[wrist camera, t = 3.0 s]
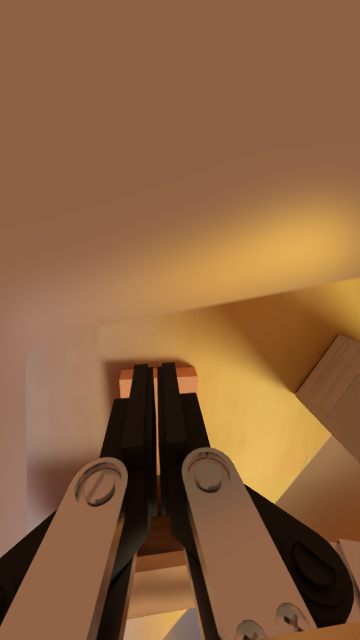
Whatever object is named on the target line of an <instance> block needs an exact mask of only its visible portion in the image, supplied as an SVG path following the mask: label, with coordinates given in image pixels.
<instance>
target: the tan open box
mask: <svg viewBox="0 0 360 640" xmlns="http://www.w3.org/2000/svg"><path fill="white" fill-rule="evenodd" d="M189 608H195V604H194V599H193V594H192V590H191V585H190V580H189V575H188V571H187V566H186V561H185V556H184V551H183V545H182V544H181V543H180V542H179V541H178V540H177V539H176V538H175V537H174V536H173V535H172V534H171V530H170V515H167V516H159V517H152V518H151V526H150V530H148V537H147V539H146V540H145V541H144V543H143V544H142V545H141V546H140V548H139V549H138V550H137V561H136V567H135V573H134V579H133V585H132V591H131V597H130V603H129V609H128V615H127V619H132V618H138V617H144V616H149V615H155V614H161V613H166V612H172V611H178V610H184V609H189Z"/></svg>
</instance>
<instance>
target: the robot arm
mask: <svg viewBox="0 0 360 640" xmlns="http://www.w3.org/2000/svg"><path fill="white" fill-rule="evenodd" d="M157 396H158V448H159V465H160V481H161V497H162V513H163V515H169V514H170V530H171V534H172V535H173V536H174V537H175V538H176V539H177V540H178V541H179V542H180V543H181V544H182V545H183V551H184V556H185V561H186V566H187V571H188V575H189V580H190V585H191V590H192V594H193V599H194V604H195V609H196V613H197V618H198V623H199V628H200V632H201V637H202V640H360V542H356V541H350V540H343V539H338V541H337V543H333V542H327V541H326V540H325V539H324V538H323V537H321V536H320V535H319V534H318V533H316V532H315V531H313V530H312V529H310V528H309V527H307V526H306V525H304V524H303V523H301V522H300V521H298V520H297V519H295V518H294V517H292V516H291V515H290V514H288V513H287V512H285V511H283V510H282V509H281V508H279V507H278V506H276V505H275V504H273V503H272V502H270V501H269V500H267V499H266V498H264V497H263V496H261V495H260V494H258V493H257V492H255V491H254V490H253V489H251V488H250V487H248V486H247V485H245V484H244V483H243V482H242V480H241V478H240V476H239V474H238V472H237V470H236V468H235V466H234V464H233V463H232V461H231V460H230V458H229V457H228V456H227V455H225V454H224V453H223V452H221V451H219V450H217V449H214V448H211V447H210V444H209V440H208V436H207V432H206V428H205V425H204V421H203V417H202V413H201V409H200V406H199V402H198V398H197V395H196V393H195V392H194V393H181V394H180V392H179V386H178V380H177V373H176V367H175V362H171V363H162V367H157ZM154 516H157V424H156V406H155V390H154V374H153V367H148V364H140V365H134V371H133V377H132V383H131V390H130V396H129V398H116V399H115V400H114V403H113V406H112V410H111V414H110V418H109V422H108V426H107V430H106V434H105V438H104V442H103V446H102V450H101V454H100V458H99V459H96V460H94V461H91V462H90V463H88V464H87V465H85V466H84V467H83V468H82V469H81V470H80V471H79V472H78V473H77V474H76V475H75V477H74V478H73V480H72V482H71V484H70V486H69V488H68V490H67V492H66V494H65V496H64V498H63V500H62V502H61V504H60V506H59V508H58V509H57V510H56V511H55V512H53V513H52V514H51V515H50V516H49V517H48V518H46V519H45V520H44V521H43V522H42V523H41V524H39V525H38V526H37V527H36V528H35V529H34V530H32V531H31V532H30V533H29V534H28V535H27V536H26V537H24V538H23V539H22V540H21V541H20V542H18V543H17V544H16V545H15V546H14V547H13V548H12V549H10V550H9V551H8V552H7V553H6V554H5V555H3V556H2V557H1V558H0V640H123V638H124V632H125V626H126V621H127V615H128V609H129V603H130V597H131V591H132V585H133V579H134V573H135V567H136V561H137V550H138V549H139V548H140V546H141V545H142V544H143V543H144V541H145V540H146V539H147V537H148V530H150V526H151V517H154Z"/></svg>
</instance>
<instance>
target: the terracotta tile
mask: <svg viewBox="0 0 360 640" xmlns="http://www.w3.org/2000/svg"><path fill="white" fill-rule="evenodd" d="M133 371H134V369H125V370H122V371H121V375H120V379H119V384H120V396H121V398H129V396H130V390H131V383H132V377H133ZM176 373H177V380H178V386H179V392H180V394H181V393H194V392H195V393H196V395H197V373H196V370H195V367H176ZM153 374H154V390H155V406H156V424H157V476H158V475H160V465H159V448H158V396H157V368H153Z"/></svg>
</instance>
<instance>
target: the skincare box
mask: <svg viewBox="0 0 360 640" xmlns="http://www.w3.org/2000/svg"><path fill="white" fill-rule="evenodd" d="M295 396H296V397H297V398H298V399H299V400H300V402H301V403H302V404H303V405H304V406H305V407H306V408H307V409H308V410H309V411H310V412H311V413H312V414H313V415H314V416H315V417H316V418H317V419H318V420H319V421H320V422H321V424H322V425H323V426H324V427H325V428H326V429H327V430H328V431H329V432H330V433H331V434H332V435H333V436H334V437H335V438H336V439H337V440H338V441H339V442H340V443H341V444H342V445H343V447H344V448H345V449H346V450H347V451H348V452H349V453H350V454H352V456H353V457H354V458H355V459H356V460H357V461H358V462H359V463H360V342H358V341H355V340H353V339H351V338H348V337H346V336H343V335H341V334H339V335H338V336H337V338H336V339H335V340H334V342H333V343H332V344H331V346H330V347H329V349H328V350H327V351H326V353H325V354H324V356H323V357H322V358H321V360H320V361H319V363H318V364H317V365H316V367H315V368H314V369H313V371H312V372H311V374H310V375H309V376H308V378H307V379H306V381H305V382H304V383H303V385H302V386H301V388H300V389H299V390H298V392H297V393H296V395H295Z"/></svg>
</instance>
